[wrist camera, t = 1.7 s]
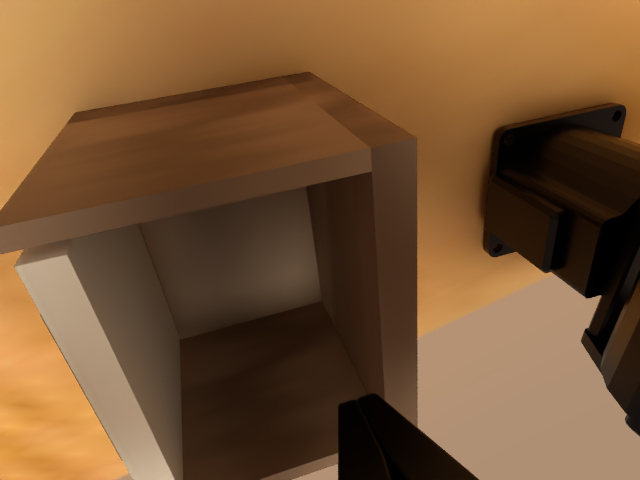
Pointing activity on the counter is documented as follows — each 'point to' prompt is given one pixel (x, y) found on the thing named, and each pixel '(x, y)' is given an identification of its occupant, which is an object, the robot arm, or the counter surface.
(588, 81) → the counter surface
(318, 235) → the open wooden box
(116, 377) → the cabinet door
